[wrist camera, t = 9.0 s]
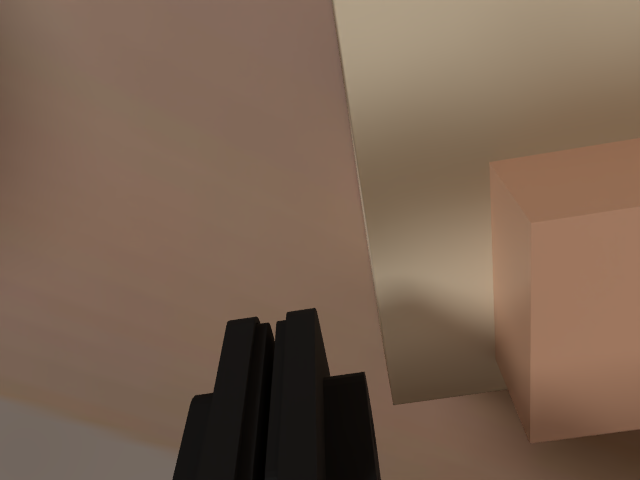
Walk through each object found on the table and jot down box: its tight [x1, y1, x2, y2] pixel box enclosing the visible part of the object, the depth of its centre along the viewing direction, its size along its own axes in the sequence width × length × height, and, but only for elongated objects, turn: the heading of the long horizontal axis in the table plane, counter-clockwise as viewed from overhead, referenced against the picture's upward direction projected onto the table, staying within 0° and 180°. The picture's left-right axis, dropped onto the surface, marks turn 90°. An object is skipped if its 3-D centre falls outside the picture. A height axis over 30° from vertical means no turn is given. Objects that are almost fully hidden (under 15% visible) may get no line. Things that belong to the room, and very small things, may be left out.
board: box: [331, 0, 640, 405], centre depth 13 cm, size 13×9×3 cm
